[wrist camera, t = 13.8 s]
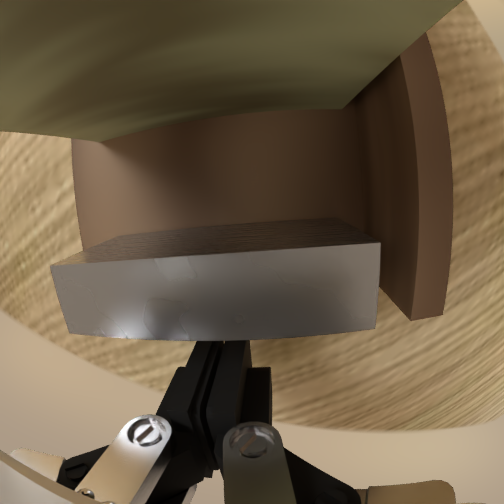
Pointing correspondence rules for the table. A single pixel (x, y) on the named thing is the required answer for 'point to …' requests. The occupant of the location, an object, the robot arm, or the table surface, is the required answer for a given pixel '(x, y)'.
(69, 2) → the shelf
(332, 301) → the bookend
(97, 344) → the table surface
